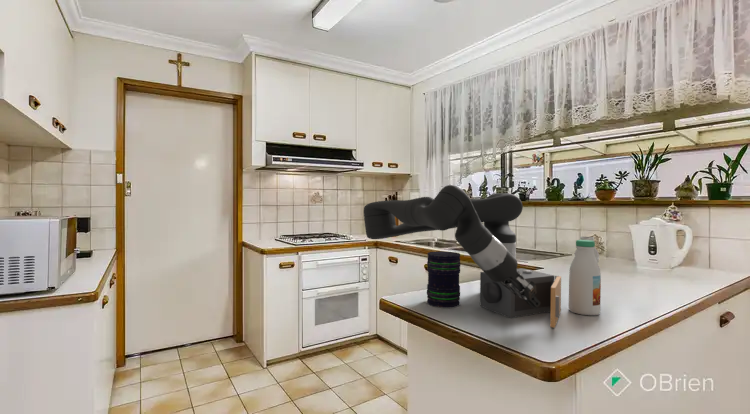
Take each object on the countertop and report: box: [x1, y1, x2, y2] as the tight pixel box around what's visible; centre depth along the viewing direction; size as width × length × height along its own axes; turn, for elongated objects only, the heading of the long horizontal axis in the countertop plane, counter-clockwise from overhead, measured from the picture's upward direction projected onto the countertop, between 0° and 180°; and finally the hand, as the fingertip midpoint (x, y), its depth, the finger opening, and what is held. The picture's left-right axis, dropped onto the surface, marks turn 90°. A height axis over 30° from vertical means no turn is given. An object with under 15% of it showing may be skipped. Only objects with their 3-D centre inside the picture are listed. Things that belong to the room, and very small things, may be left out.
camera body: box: [479, 267, 556, 319], centre depth 108 cm, size 18×12×11 cm
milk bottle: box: [568, 239, 602, 316], centre depth 105 cm, size 8×8×20 cm
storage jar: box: [426, 250, 461, 309], centre depth 113 cm, size 10×10×15 cm
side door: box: [549, 275, 562, 329], centre depth 98 cm, size 17×2×10 cm, turn 149°
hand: (536, 305), depth 92 cm, fingers closed
